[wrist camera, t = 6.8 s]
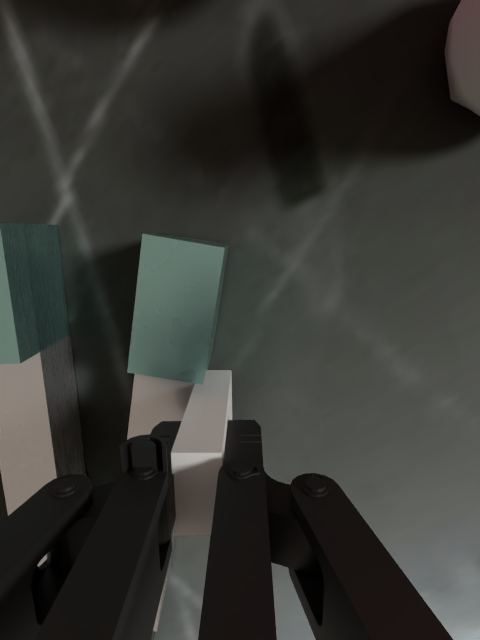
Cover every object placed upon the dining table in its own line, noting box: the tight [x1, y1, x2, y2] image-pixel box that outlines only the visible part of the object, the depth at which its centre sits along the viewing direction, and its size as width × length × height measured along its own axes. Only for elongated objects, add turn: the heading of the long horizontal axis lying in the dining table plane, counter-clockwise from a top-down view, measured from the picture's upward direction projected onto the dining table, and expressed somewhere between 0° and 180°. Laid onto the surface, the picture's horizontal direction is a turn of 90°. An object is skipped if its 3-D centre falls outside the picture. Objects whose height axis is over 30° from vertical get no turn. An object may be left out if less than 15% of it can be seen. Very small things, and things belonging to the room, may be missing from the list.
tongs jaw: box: [127, 233, 229, 632], centre depth 18 cm, size 22×4×4 cm, turn 170°
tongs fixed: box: [0, 223, 155, 640], centre depth 18 cm, size 29×6×4 cm, turn 1°
